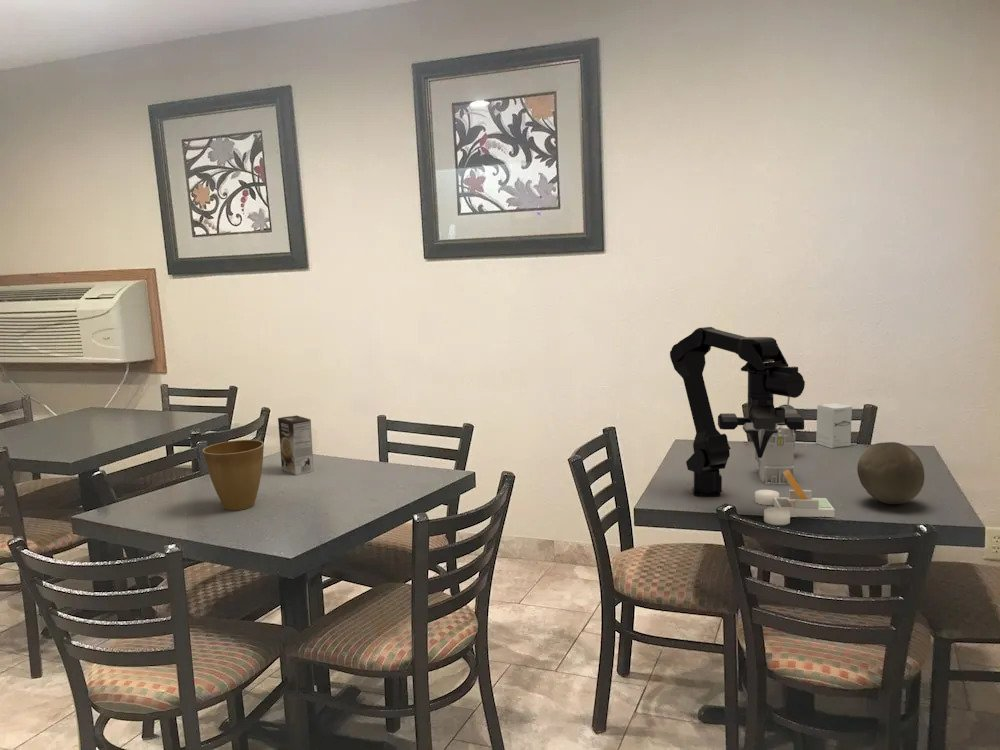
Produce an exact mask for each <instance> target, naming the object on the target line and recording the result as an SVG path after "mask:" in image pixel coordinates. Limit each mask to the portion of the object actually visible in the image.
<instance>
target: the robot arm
mask: <svg viewBox="0 0 1000 750" xmlns="http://www.w3.org/2000/svg"><path fill="white" fill-rule="evenodd" d="M712 347H713V348H717V349H720V350H723V351H726V352H730V353H734V354H736V355H738V357H739V359H741V360H743V361H744V362H746V363H745V364H744V365H743V366H742V367H741V368H740V372H745V373H746V372H747V413H746V415H747V417H744V416H743V417H742V416H741V417H739V416H737V415H736V413H720V414H719V415H718V416H717V425H718V428H719V429H720V430H723V431H724V430H725V431H726V430H733V431H734V430H735V429H736V428H737V427H738V426H742V430H743V431H744V433H745V434H749V436H750V438H751V441H752V444H753V446H754V451H755V450H756V453H757V456H758V458H762V456H763V453H764V450H765V448H766V445H767V443H768V441H769V439H770V437H771V436H772V435H773V433H778V430H777V427H778V425H787V427H788V428H789V429H790V430H796V431H798V430H799V431H803V430H805V419H804V418H803V417H802V416H801V415H800V414H799V413H798V412H797V413H788V414H785V408H784V407H779V406H778V407H775V405H774V404H775V403H774V395H776V396H780V397H781V396H782V397H787V398H788V397H790V398H793V399H796V398H798V397H800V396H801V395H802V394H803V392H804V390H805V385H806V382H805V379H804V376H803V375H802V373H800V372H799V367H798V366H789V364H788V362H787V360H786V358H785V357H784V354H783V353H782V351H781V348H780V347H779V344H778V343H777V340H776V339H775V338H774V337H771V336H770V337H768V336H748V337H747V336H745V335H744V336H743V335H740V334H737V333H732V332H729V331H726V330H725V331H724V330H720V329H717V328H714V327H713V326H707V327H706V326H705V327H698V328H696V329H695V330H694V331H693V332H692V333H690V334H688V336H686V337H684V338H683V339H681V340H679V341H678V342H677V343H675V344H674V345H673V346H672V347H671V350H670V352H669V357H670V361H671V364H672V366H673V369H674V371H676V373H677V374H678V375H679V376H680V377H681V378H682V379H683V380H682V381H683V384H684V387H685V391H686V396H687V400H688V405H689V409H690V412H691V416H692V417H691V418H692V420H693V421H692V422H693V424H694V429H695V437H694V439H693V443H692V447H693V448H692V449H693V453H692V455H690V456H689V458H687V460H686V462H685V464H686V467H687V470H688V471H691V472H693V473H692V474H693V475H692V476H693V477H692V478H693V479H692V480H693V482H692V484H693V486H692V488H691V489H692V493H693V496H695V497H698V496H699V497H700V496H701V497H704V496H705V497H721V493H722V488H723V485H722V484H723V482H722V481H723V477H722V474H721V473H720V470H721V469H725V468H726V466H727V463H728V460H729V458H730V450H731V449H732V448H731V447H730V445H729V441H728V435H727V434H726V433H720V431H719V430H718V429H717V427H716V424H715V420H714V416H713V412H712V407H711V404H710V399H709V396H708V395H709V394H708V392H707V387H706V383H705V380H704V376H703V375H704V374H703V373H704V370H705V366H706V355H707V354H708V353H709V352H710V351H711V349H712ZM759 430H761V436H760V446H759Z"/></svg>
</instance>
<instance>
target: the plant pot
mask: <svg viewBox="0 0 1000 750" xmlns="http://www.w3.org/2000/svg"><path fill="white" fill-rule="evenodd" d="M264 446H265V444H264V441H262V440H257V439H239V440H238V439H237V440H230V441H223V442H219V443H214V444H210V445H208V446H206V447H204V448H203V449H202V453H203V459H204V461H205V464H206V468H207V472H208V474H209V477H210V480H211V483H212V485H213V487H214V490H215V492H216V494H217V496H218V498H219V501H220V503H221V504H222V506H223V508H224V510H226V511H236V512H237V511H243V510H246V509H249V508H252V507H253V506H255V504H256V500H257V496H258V492H259V488H260V484H261V477H262V471H263V470H262V469H263V463H264V449H265V447H264Z"/></svg>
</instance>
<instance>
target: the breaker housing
mask: <svg viewBox="0 0 1000 750" xmlns="http://www.w3.org/2000/svg"><path fill="white" fill-rule="evenodd" d="M802 491H803V492H804V494H805V496H806V497H807V499H799V497H798V496H797V494H796V492H795V491H794V489H788V497H780V496H779V497H773V505H774V506H773V505H772V506H773V507H777V508H783V509H787V510H789V511H790V518H791V517H796V516H822V517H824V516H826V517H835V514H836V510H835V508H834V507H833V506H832V504H831V503H830V502H829V500H828V499H827V498H826V497H812V496H813V495H812V493H813V492H812V490H811V489H802ZM835 518H836V517H835Z"/></svg>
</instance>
